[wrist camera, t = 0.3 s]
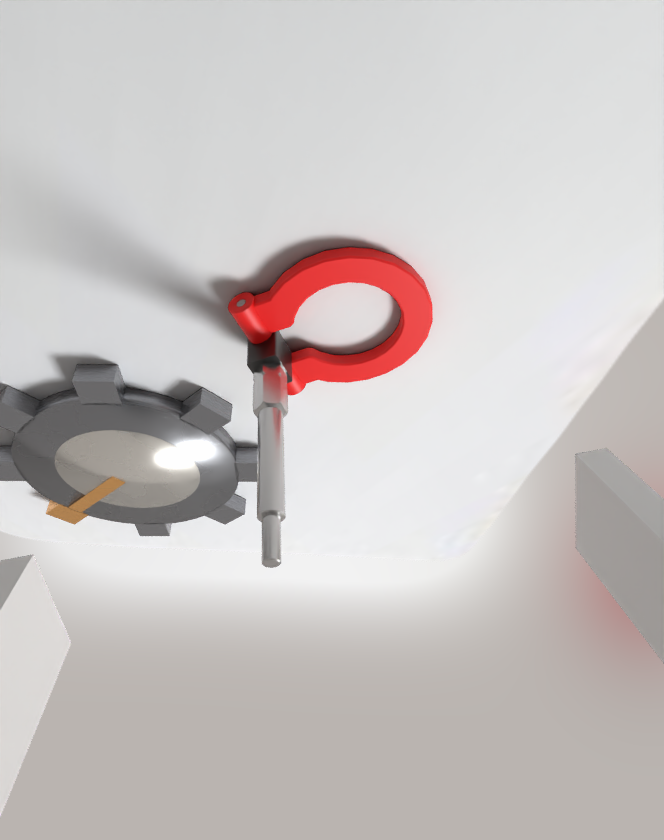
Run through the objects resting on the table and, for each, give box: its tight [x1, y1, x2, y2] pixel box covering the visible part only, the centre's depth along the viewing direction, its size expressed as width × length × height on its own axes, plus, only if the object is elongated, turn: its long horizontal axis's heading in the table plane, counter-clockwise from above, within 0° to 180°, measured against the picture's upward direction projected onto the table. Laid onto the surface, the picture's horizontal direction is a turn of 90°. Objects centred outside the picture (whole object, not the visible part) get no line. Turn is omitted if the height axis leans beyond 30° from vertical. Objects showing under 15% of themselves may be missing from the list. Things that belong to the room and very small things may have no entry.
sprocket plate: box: [0, 365, 258, 536], centre depth 41 cm, size 18×18×1 cm
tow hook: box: [228, 247, 432, 568], centre depth 28 cm, size 8×13×9 cm
